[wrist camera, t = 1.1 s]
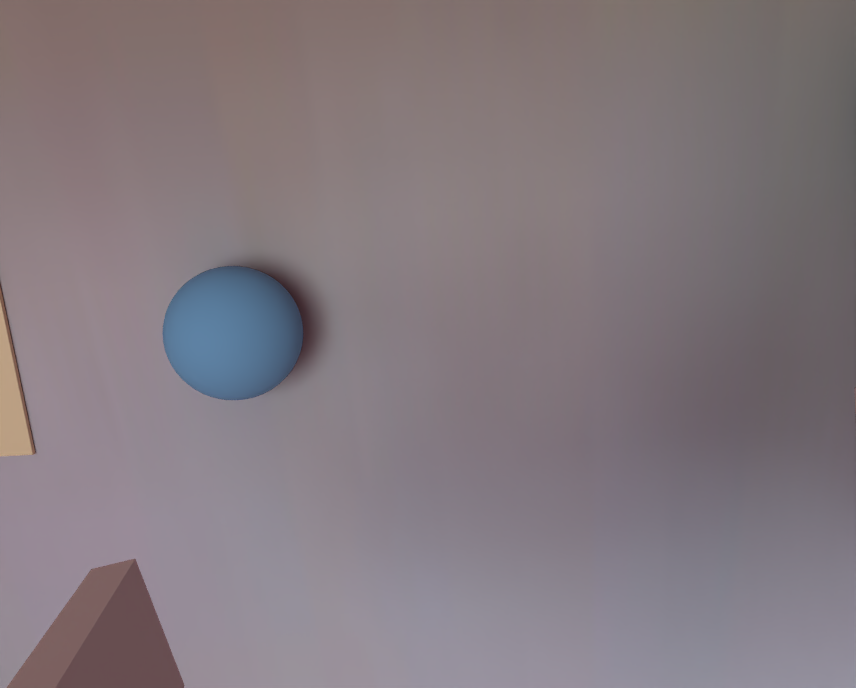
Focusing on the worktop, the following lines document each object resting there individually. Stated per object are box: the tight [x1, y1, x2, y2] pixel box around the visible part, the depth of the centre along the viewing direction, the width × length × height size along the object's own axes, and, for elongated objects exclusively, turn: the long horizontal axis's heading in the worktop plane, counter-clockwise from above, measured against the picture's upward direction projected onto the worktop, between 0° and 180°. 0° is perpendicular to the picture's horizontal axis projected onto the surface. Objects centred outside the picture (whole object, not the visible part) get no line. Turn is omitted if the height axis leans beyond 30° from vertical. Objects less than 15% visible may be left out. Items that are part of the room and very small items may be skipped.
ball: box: [163, 266, 303, 400], centre depth 26 cm, size 6×6×6 cm
